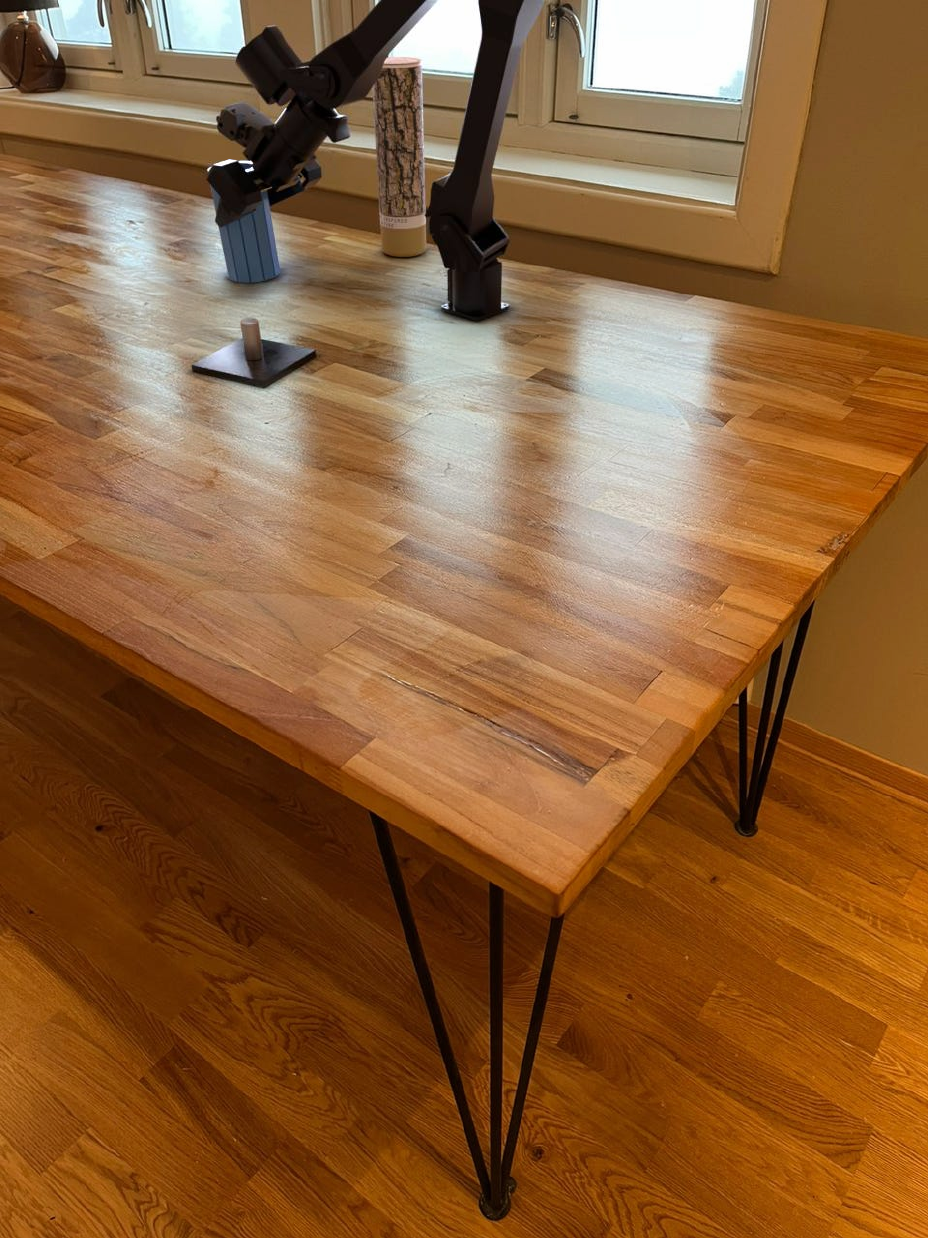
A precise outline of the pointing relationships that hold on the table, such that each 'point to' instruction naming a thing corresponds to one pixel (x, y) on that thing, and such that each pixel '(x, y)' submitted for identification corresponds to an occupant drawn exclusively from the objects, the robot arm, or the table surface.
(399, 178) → the paper tube
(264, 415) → the table surface
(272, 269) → the blue fluted tube
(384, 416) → the table surface
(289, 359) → the peg stand
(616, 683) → the table surface
